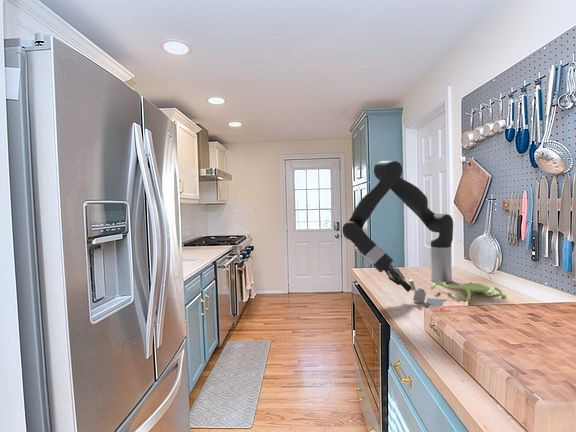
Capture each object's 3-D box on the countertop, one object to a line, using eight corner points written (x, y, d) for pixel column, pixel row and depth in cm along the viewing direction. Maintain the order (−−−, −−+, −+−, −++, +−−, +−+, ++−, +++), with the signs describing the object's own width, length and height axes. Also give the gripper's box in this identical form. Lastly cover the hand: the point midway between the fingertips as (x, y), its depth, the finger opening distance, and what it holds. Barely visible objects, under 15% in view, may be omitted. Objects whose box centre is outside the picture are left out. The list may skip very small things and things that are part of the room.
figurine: (425, 294, 148) (425, 281, 147) (475, 287, 154) (475, 275, 154) (456, 306, 130) (455, 292, 130) (511, 297, 136) (511, 284, 136)
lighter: (424, 302, 133) (428, 283, 132) (424, 303, 132) (427, 284, 131) (405, 297, 136) (409, 278, 135) (405, 298, 135) (409, 279, 134)
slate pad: (427, 299, 137) (427, 297, 137) (468, 302, 131) (468, 301, 131) (425, 307, 127) (425, 305, 127) (470, 311, 121) (470, 310, 121)
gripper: (382, 255, 132) (415, 288, 128) (387, 250, 144) (418, 280, 139) (368, 267, 135) (401, 300, 130) (375, 261, 147) (405, 291, 142)
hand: (410, 289), depth 135 cm, fingers closed
